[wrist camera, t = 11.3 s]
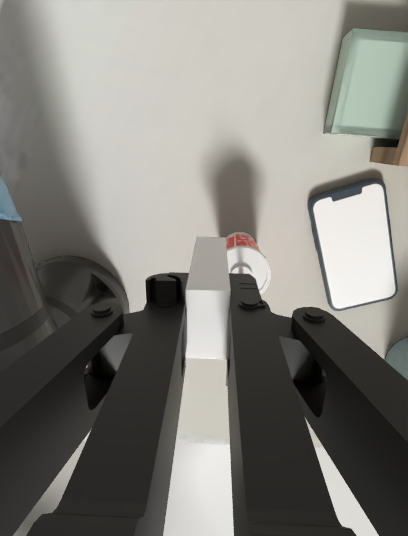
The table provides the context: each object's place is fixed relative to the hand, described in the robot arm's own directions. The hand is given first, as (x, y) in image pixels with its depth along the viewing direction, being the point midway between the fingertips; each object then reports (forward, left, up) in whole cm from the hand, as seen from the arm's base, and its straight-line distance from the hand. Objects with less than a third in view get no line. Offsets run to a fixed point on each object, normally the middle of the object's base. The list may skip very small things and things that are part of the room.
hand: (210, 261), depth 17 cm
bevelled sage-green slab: (+18, +12, -24) cm, 32 cm away
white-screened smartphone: (+17, -5, -25) cm, 31 cm away
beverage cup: (+3, -7, -24) cm, 25 cm away
